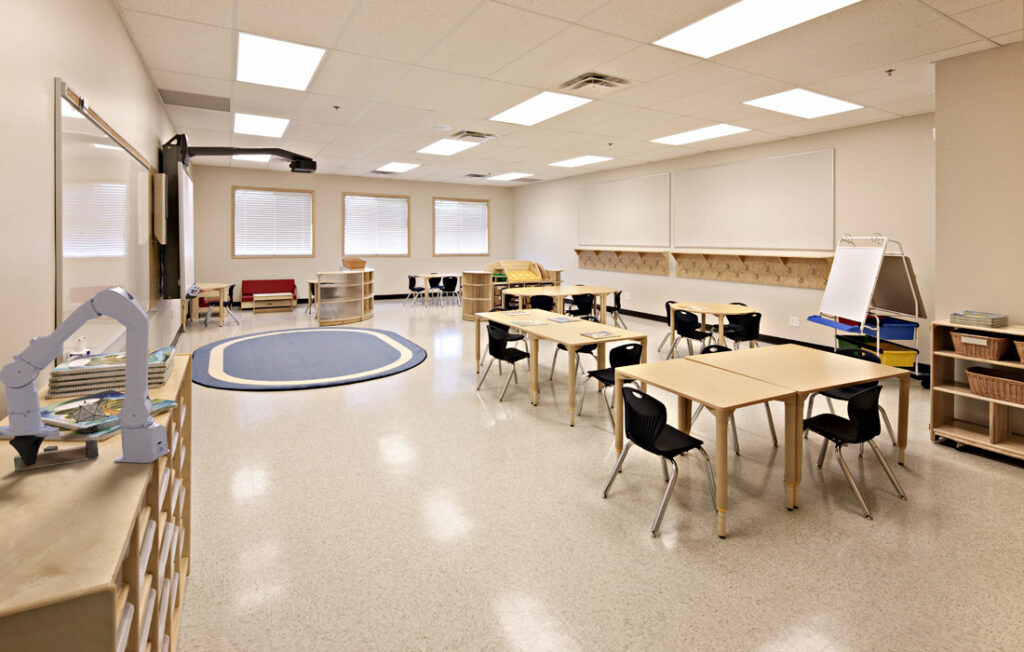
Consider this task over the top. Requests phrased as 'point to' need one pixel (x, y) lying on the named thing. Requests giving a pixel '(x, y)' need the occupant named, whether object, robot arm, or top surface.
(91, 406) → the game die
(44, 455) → the gate
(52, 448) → the block
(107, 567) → the top surface
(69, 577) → the top surface
